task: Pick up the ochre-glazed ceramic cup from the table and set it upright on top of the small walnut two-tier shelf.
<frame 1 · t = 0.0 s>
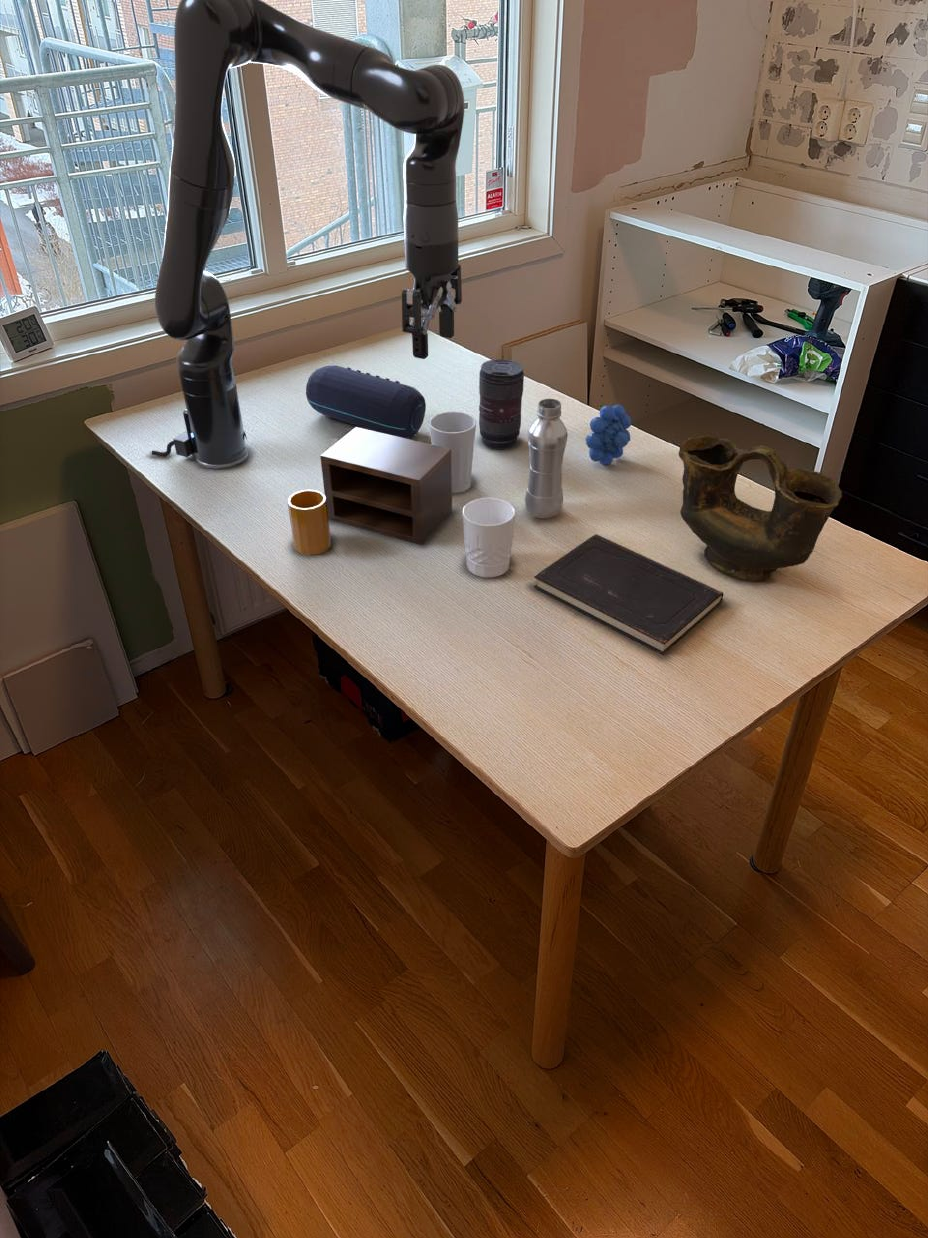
hand: (433, 346, 138), 29 cm above the table, tool pointing down, fingers open, 8 cm apart
camera lens: (499, 442, 176), on the table
cup: (453, 484, 164), on the table
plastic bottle: (543, 513, 156), on the table
portable speaker: (369, 425, 182), on the table
white cup: (488, 566, 145), on the table
shelf: (390, 515, 156), on the table
pottery vessel: (737, 562, 145), on the table
grapes: (609, 466, 169), on the table
ochre cup: (312, 544, 149), on the table
hardcover book: (626, 596, 138), on the table
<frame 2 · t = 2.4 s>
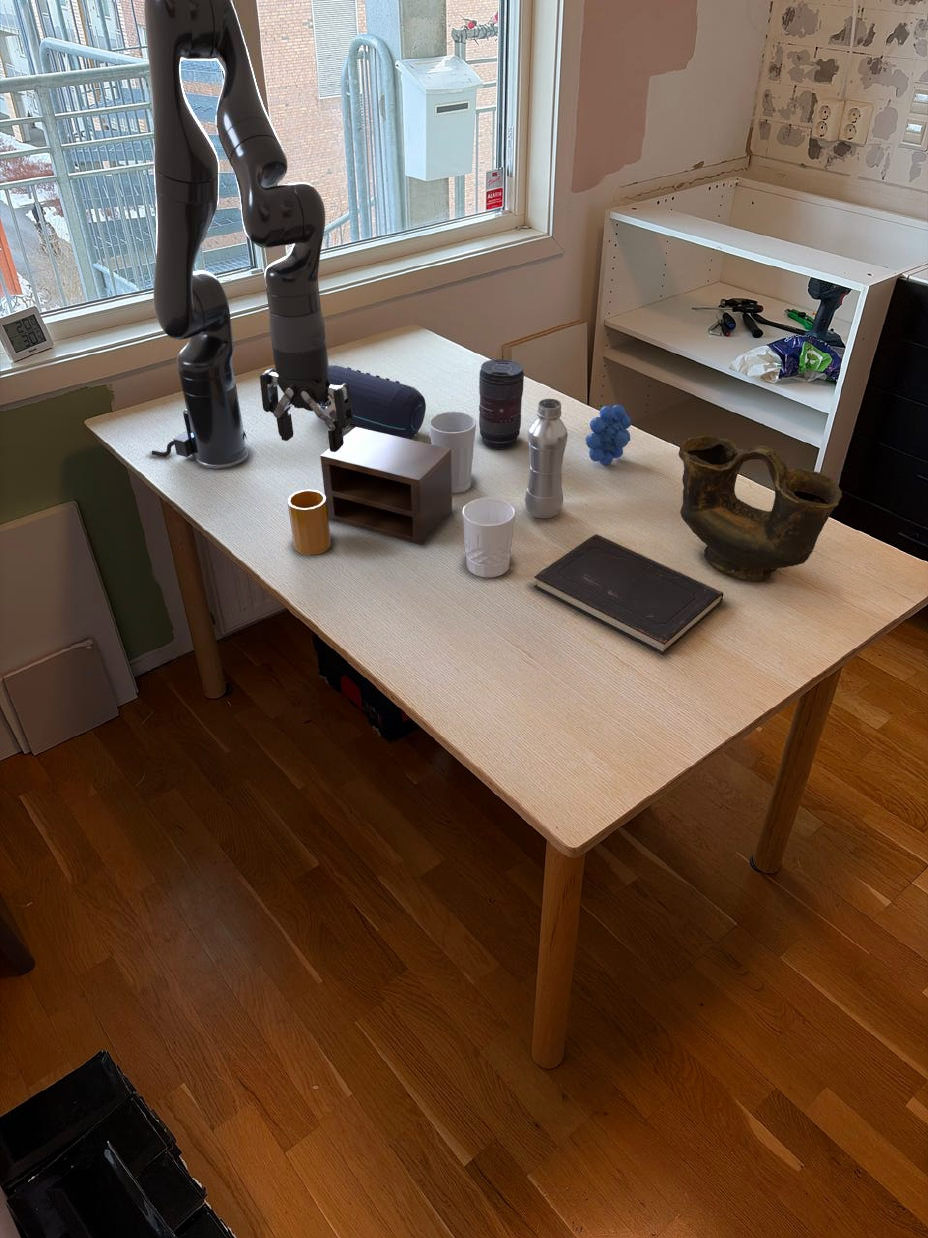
hand: (311, 444, 139), 18 cm above the table, tool pointing down, fingers open, 8 cm apart
nothing on the table moved.
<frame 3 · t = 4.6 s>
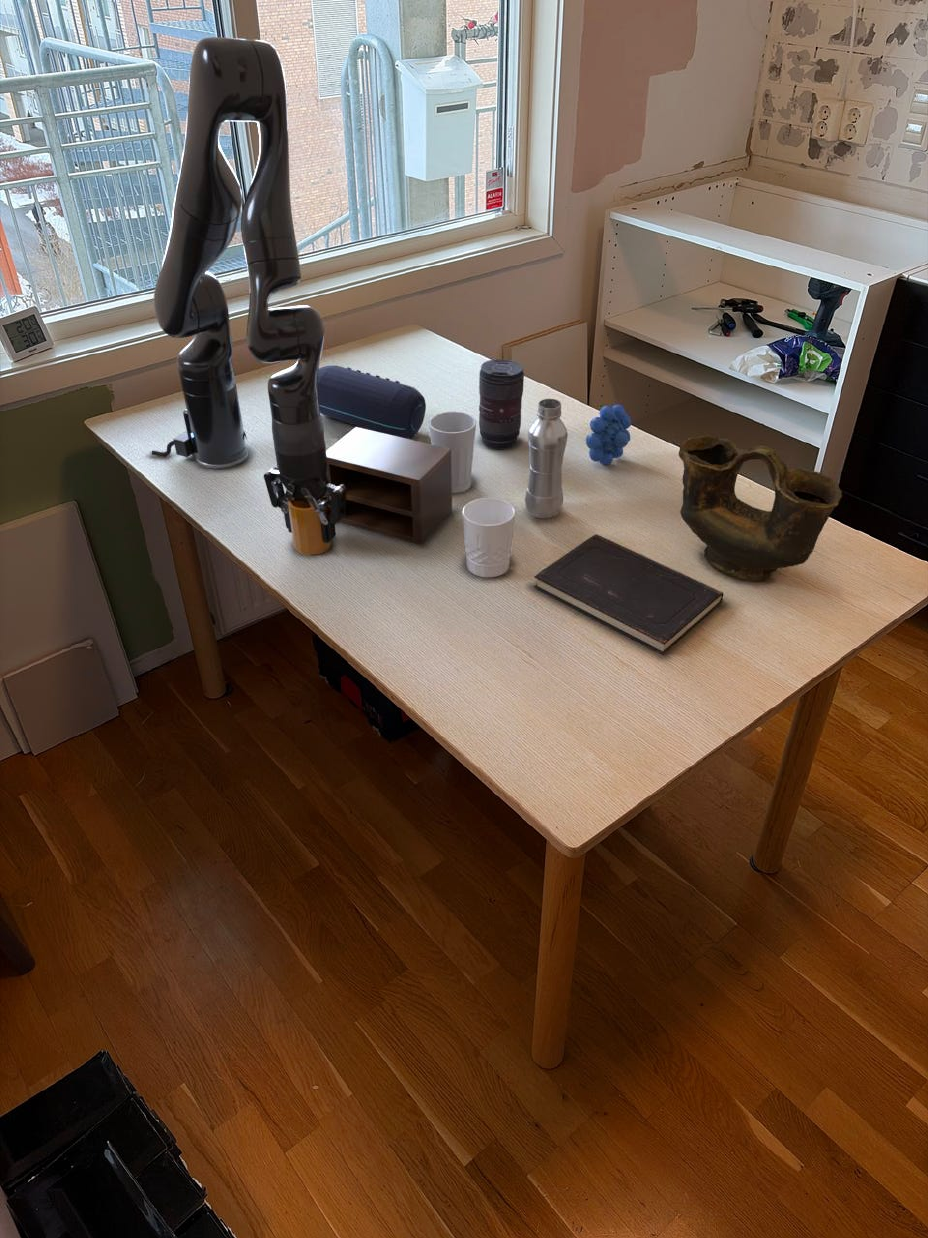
hand: (311, 535, 148), 2 cm above the table, tool pointing down, fingers closed on ochre cup, 6 cm apart
ochre cup: (312, 544, 149), on the table, touching gripper
everything else where it was.
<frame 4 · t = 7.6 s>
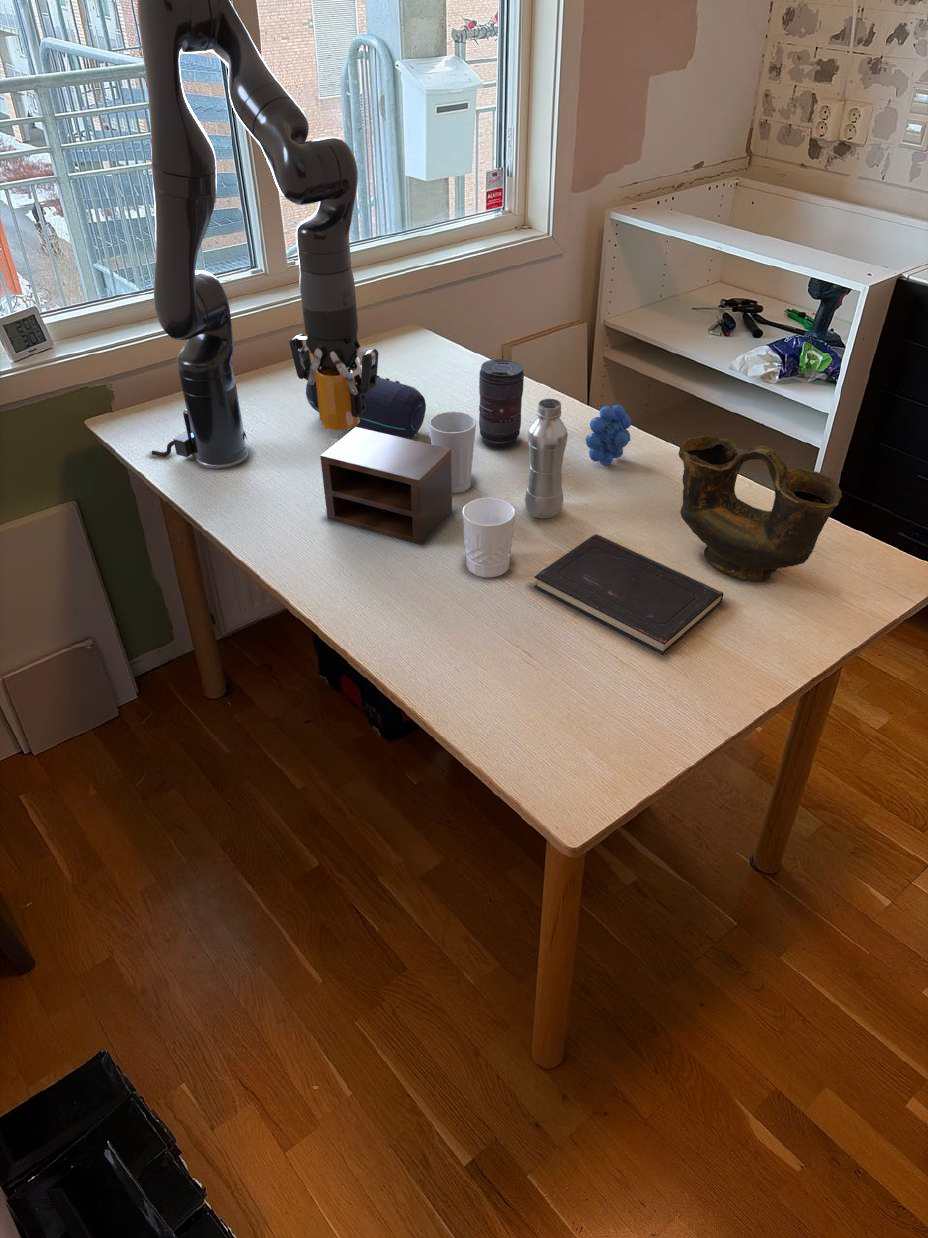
hand: (339, 410, 139), 22 cm above the table, tool pointing down, fingers closed on ochre cup, 6 cm apart
ochre cup: (340, 421, 140), point 20 cm above the table, touching gripper
everything else where it was.
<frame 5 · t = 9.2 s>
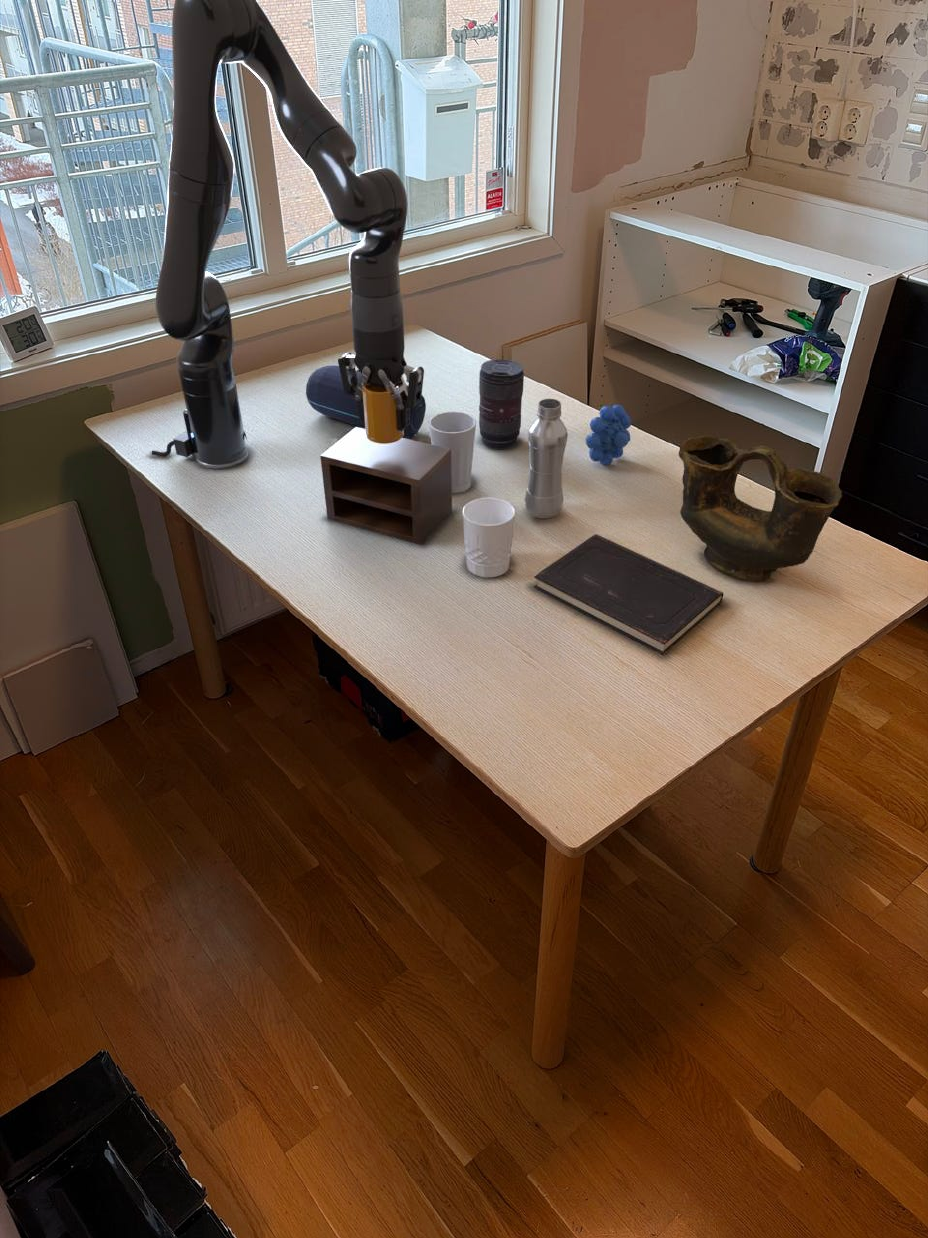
hand: (384, 424, 145), 17 cm above the table, tool pointing down, fingers closed on ochre cup, 6 cm apart
ochre cup: (385, 434, 146), point 15 cm above the table, touching gripper
everything else where it was.
when the fingers open (14 cm above the table, at t = 10.6 s): ochre cup stays where it is, resting on shelf.
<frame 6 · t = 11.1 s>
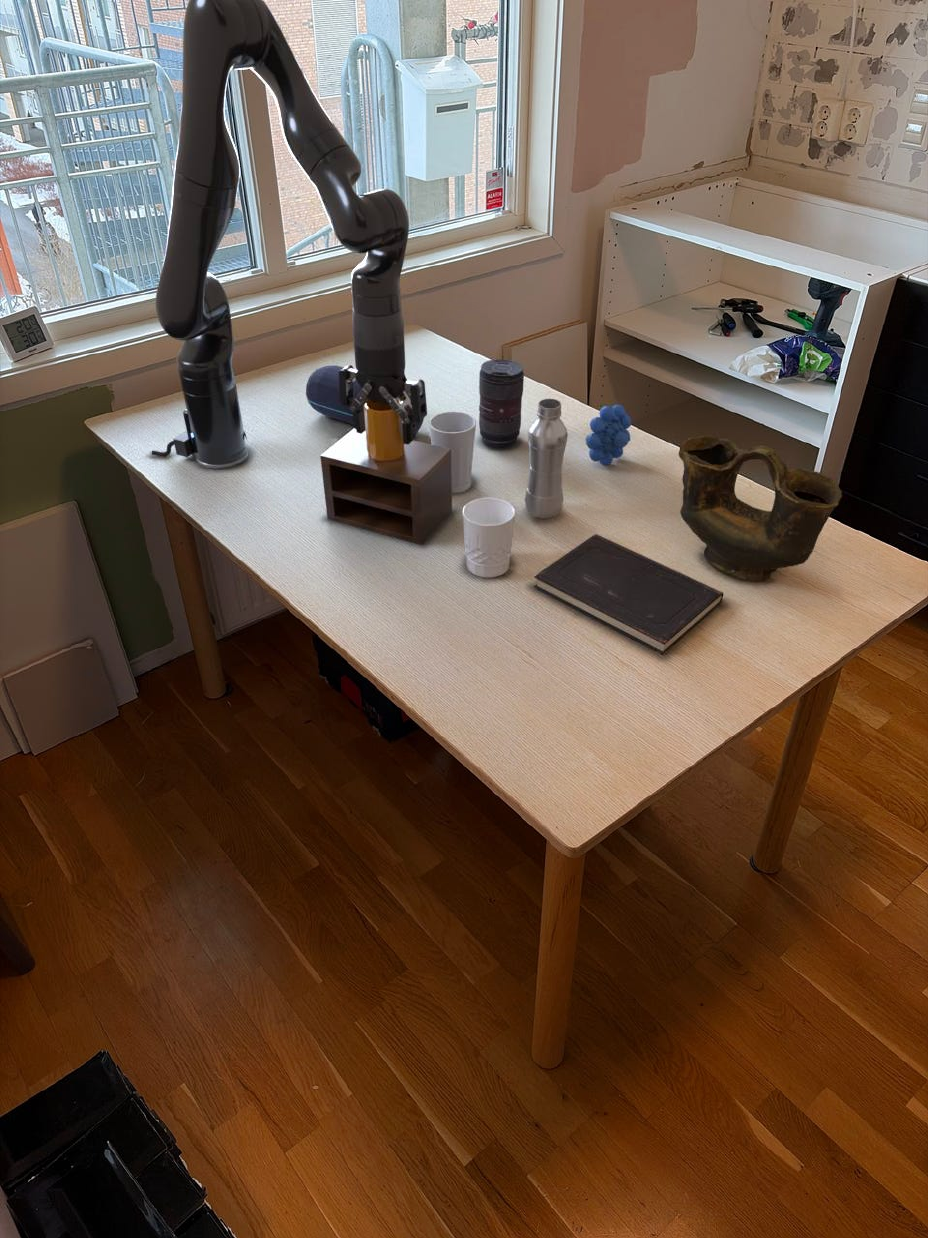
hand: (384, 436, 147), 15 cm above the table, tool pointing down, fingers open, 8 cm apart
ochre cup: (386, 452, 148), point 12 cm above the table, touching shelf
everything else where it was.
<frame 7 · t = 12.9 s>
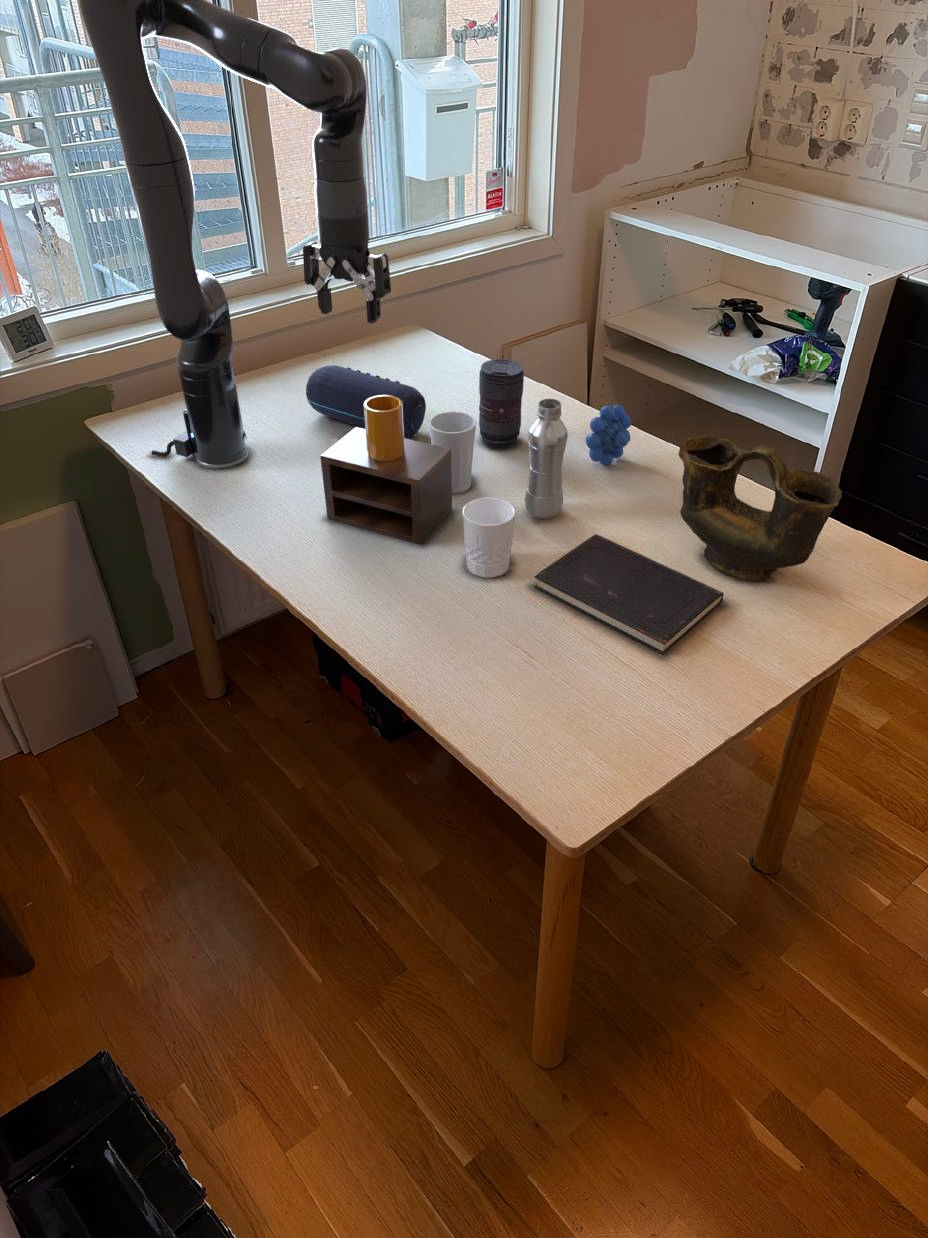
hand: (349, 317, 146), 30 cm above the table, tool pointing down, fingers open, 8 cm apart
nothing on the table moved.
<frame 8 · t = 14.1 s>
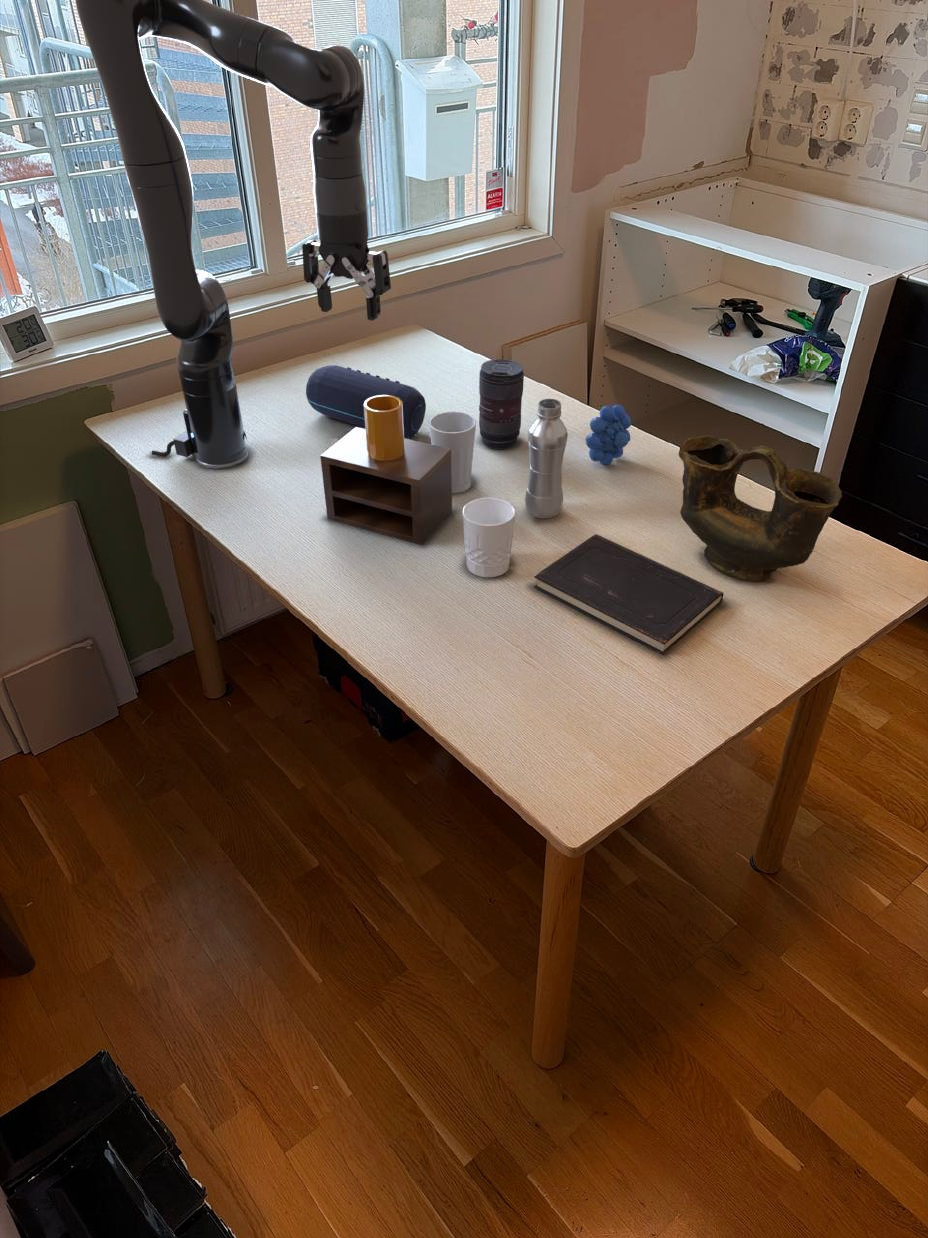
hand: (349, 314, 146), 30 cm above the table, tool pointing down, fingers open, 8 cm apart
nothing on the table moved.
at the end: ochre cup inside the target area on the shelf (0.0 cm from its centre), point 12.0 cm above the shelf's base; ochre cup tilted 0°; the gripper is holding nothing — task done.
